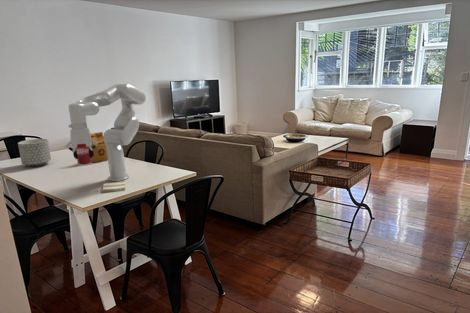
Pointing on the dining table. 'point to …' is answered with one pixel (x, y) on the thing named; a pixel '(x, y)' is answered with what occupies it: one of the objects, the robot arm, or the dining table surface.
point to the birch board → (114, 186)
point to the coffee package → (99, 148)
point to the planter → (34, 152)
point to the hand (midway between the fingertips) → (84, 157)
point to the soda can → (83, 154)
